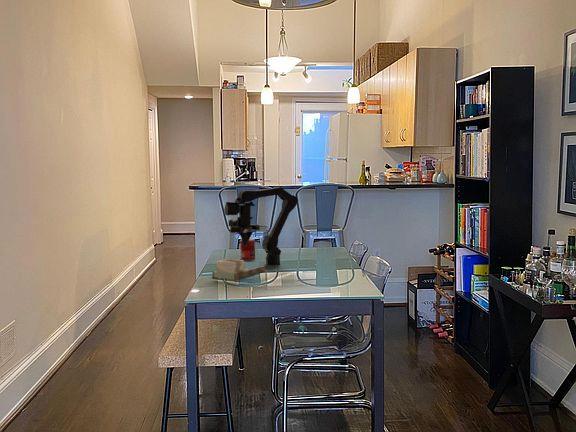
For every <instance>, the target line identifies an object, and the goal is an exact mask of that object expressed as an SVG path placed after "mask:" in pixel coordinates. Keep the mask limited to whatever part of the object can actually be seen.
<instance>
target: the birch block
mask: <svg viewBox="0 0 576 432" xmlns="http://www.w3.org/2000/svg"><path fill="white" fill-rule="evenodd" d="M244 269H245V259H238V258H223V259H220V260H216V271H217V272H224V273H233V274H236V273H240V272H243V271H244Z"/></svg>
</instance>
